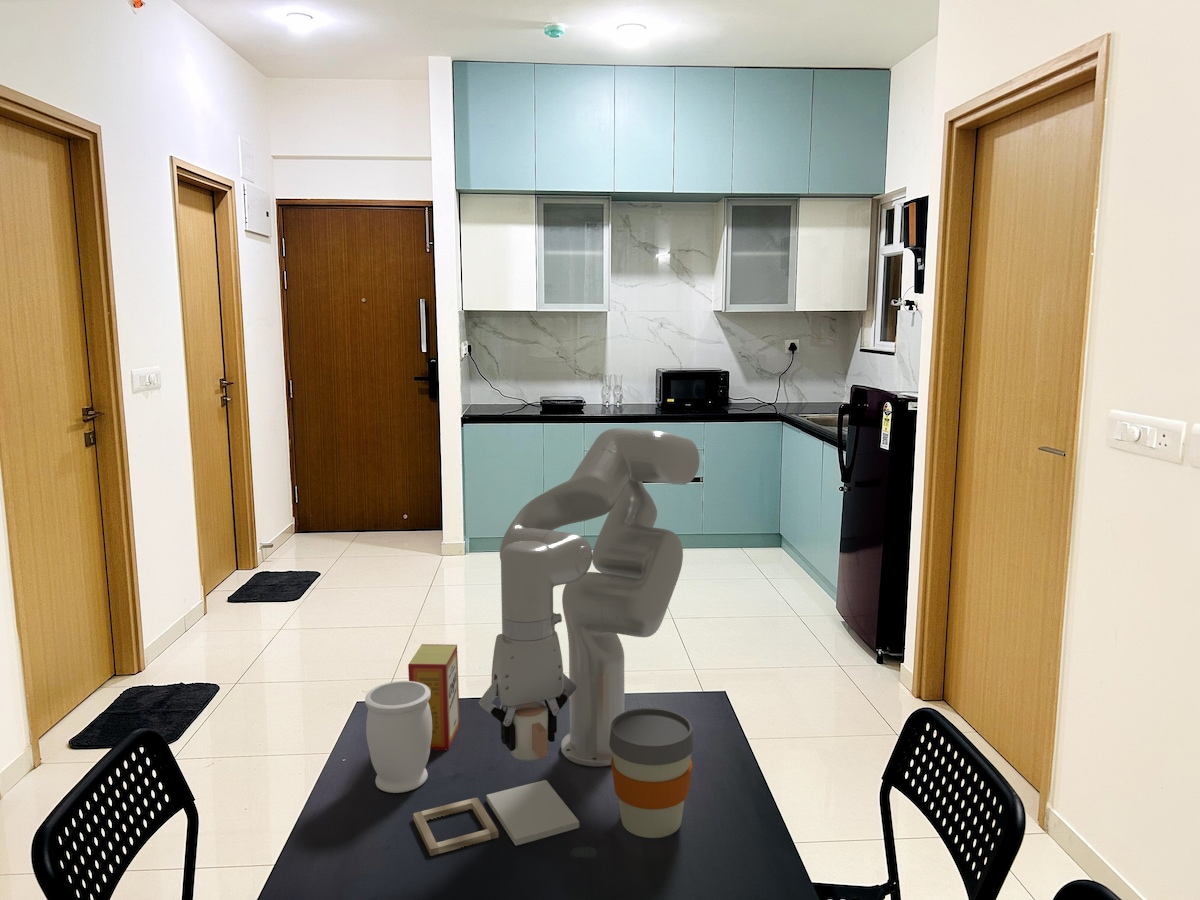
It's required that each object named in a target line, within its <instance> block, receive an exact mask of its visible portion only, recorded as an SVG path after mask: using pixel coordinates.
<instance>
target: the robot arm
mask: <svg viewBox="0 0 1200 900" xmlns="http://www.w3.org/2000/svg"><path fill="white" fill-rule="evenodd" d="M698 449H699V448H698V447H697V446H696V444H695V442H694V441H693V440H691V439H690V438H688V437H684V436H681V435H677V434H673V433H670V432H666V431H663V430H662V431H661V430H656V429H655V430H654V429H639V428H638V429H637V428H636V429H635V428H623V427H622V428H618V427H617V428H611V429H607V430H605V431H603V432H602V433H600V434H599V435H598V436H597V438H596V439H595V441H593V444H592V445H591V447H590V448H589V450H588V451H587V453H586V454H585V456H584V457H583V459H582V460H581V461H580V463H579V465H578V466H577V468H576V469H575V471H574V472H573V474H572V476H571V478H570V479H569V480H566V481H564V482H562V483H560V484H558V485H556V486H554V487H552V488H551V489H548V490H547V491H545V492H543V493H541V494H540V495H538V496H536V497H534V498H533V499H531V500H530V501H529V502H528V503H527V502H526V504H525V505H524V506H523V507H522V508H520V511H518V513H517V515H516V516H515V517H514V518H513V520H512V522H511V523H510V525H509V526H508V528H507V530H506V531H505V533H504V535H503V537H502V540H501V544H500V548H499V559H500V579H501V581H500V584H501V588H500V589H501V591H500V592H501V596H500V597H501V629H502V630H501V633H499V634H497V635H496V638H495V641H494V642H495V643H494V647H493V656H492V663H491V664H492V666H491V668H492V669H491V680H490V681H491V682H490V683H491V684H490V686H489V687H488V688H487V690H486V691H485V692H484V694H483V695H482V696H481V698H480V699H479V701H478V705H479V706H480V707H481V709H483V710H484V711H486V713H488V714H490V715H491V716H493V718H495V719H497V720H498V721H499V722H500V739H501V742H502V744H503V745H505V746H506V747H507V749H508V750H509V751H510V752H511V751H514V749H515V725H514V724H513V723H512V719H513V716H514V712H515V709H516V706H519V705H524V704H529V703H534V702H539V703H540V702H543V703H544V705H545V706H546V707H547V708H548V742H550V743H553V742H555V739H556V737H555V734H557V731H558V729H557V728H558V716H559V715H560V713H561V709H562V708H563V707H564V705H565V704H566V703H567V701H568V699H569V733H567V734H566V735H565V736H564V737H563V738H562V740H561V744H560V748H561V749H560V750H561V754H562V756H564V757H565V758H566V759H567V760H569V761H570V762H572V763H575V764H577V765H581V766H586V767H608V766H611V759H612V757H613V753H612V750H611V749H610V746H609V740H610V731H611V724H612V721H613V720H614V719H615V718H616V717H617V716H618V715H620V714H622V713H624V712H625V651H624V647H623V643H622V642H621V639H620V638H619V635H624V636H631V637H636V638H649V637H651V636H654V634H656V633H657V631H658V630H659V628H660V627H661V624H662V622H663V620H664V617H665V616H666V612H667V610H668V608H669V604H670V601H671V599H672V597H673V593H674V591H675V589H676V586H677V582H678V580H679V577H680V574H681V570H682V566H683V560H684V548H683V543H682V541H681V539H680V537H679V536H678V535H677V534H676V532H673V531H671V530H670V529H665V528H659V527H654V525H655V524H656V521H657V517H658V510H657V506H656V504H655V502H654V500H653V498H652V497H651V495H650V493H649V492H648V491H647V489H646V487H645V486H644V483H643V482H647V483H657V484H672V485H687V484H690V482H692V481H693V480H694V478H696V476H697V474H698V471H699V468H700V460H701V459H700V452H699V450H698ZM606 514H607V517H606V519H605V520H604V523H603V525H602V527H601V529H600V531H599V534H598V537H597V539H596V542H595V543H594V546H593V549H592V547H591V544H590V542H589V541H588V540H587V539H586V538H584V537H583V536H582V535H579V534H577V533H572V532H563V531H558V530H557V531H556V529H559V528H561V527H563V526H567V525H572V524H577V523H582V522H585V521H590V520H592V519H596V518H599V517H602V516H605V515H606ZM591 565H593V566H594V568H595V570H597V571H596V572H595V571H589V569H590V568H591ZM561 585H564V588H563V591H562V597H561V602H562V603H561V604H562V610H563V611H562V612H563V615H564V621H565V624H566V630H567V631H566V632H567V639H568V640H567V641H568V642H567V643H568V676H569V677H568V676H567V675H566V674H565V673H564V665H563V657H562V650H561V645H560V640H559V635H558V633H557V631H556V629H555V626H556V625H557V624H558V623H562V621H563V619H562V618H563V617H562V614H561V613H555V612H554V588H555V587H556V586H561ZM496 698H499V702H500V706H499V707H498V706H497V705H496V704H493V702H494V701H495V699H496Z"/></svg>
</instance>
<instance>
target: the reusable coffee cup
mask: <svg viewBox="0 0 1200 900" xmlns="http://www.w3.org/2000/svg"><path fill="white" fill-rule="evenodd" d="M609 746H610V749H611V750H612V753H613V757H612V759H611V765H610V766H611V772H612V778H613V779H612V781H613V787H614V792H615V795H616V796H617V798H618V803H619V809H620V811H619V812H620V818H621V824H622V825H623V827H624V829H626V831H627V832H630V833H631V834H633V835H635V836H637V837H640V838H641V837H642V838H648V839H649V838H650V839H659V838H665V837H668V836H670V835H673V834H674V833H675V832H677V831H679V829H680V827H681V826H682V821H683V820H682V819H683V814H684V807H685V806H684V805H685V799H686V798H687V797H688V794H689V792H690V785H691V778H692V771H693V761H692V759H691V758H692V753H693V751H694V748H695V739H694V728H693V725H692V722H691V721H690V719H688V718H687V717H686V716H684V714H681V713H679V712H676V711H673V710H669V709H664V708H656V707H654V708H653V707H642V708H641V707H640V708H635V709H631V710H627V711H624V713H622V714H620V715H618V716H617V717H616V718H615V719H614V720H613V721H612V724H611V731H610V740H609Z"/></svg>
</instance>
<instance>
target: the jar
mask: <svg viewBox="0 0 1200 900" xmlns="http://www.w3.org/2000/svg"><path fill="white" fill-rule="evenodd" d="M430 697H431V692H430V688H429V687H428V686H427V685H425V684H423V683H420V682H415V681H409V680H398V681H392V682H386V683H383V684H379V685H378V686H375V687H373V688H371V689H370V690H369V691H368V692H367V693H365V696H364V705H365V706H366V708H367V709H368V710H367V715H366V724H365V725H366V726H365V732H366V736H365V737H366V742H367V747H368V749H369V750H368V751H369V754H370V756H369V757H370V761H371V764H372V767H373V769H374V771H375V773H376V774H377V775H376V776H375V781H374V782H375V786H376V787H377V789H379V790H380V791H383V792H386V793H392V794H399V793H406V792H410V791H414V790H416V789H418V788H419V787H421V786H423V785H424V783H425V782H427V779H428V777H429V776H428V773H429V772H428V771H427V769H426V766H427V764H428V762H429V757H430V754H431V750H430V745H431V738H432V716H431V710H430V706H429V703H428V701H429V699H430Z"/></svg>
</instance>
